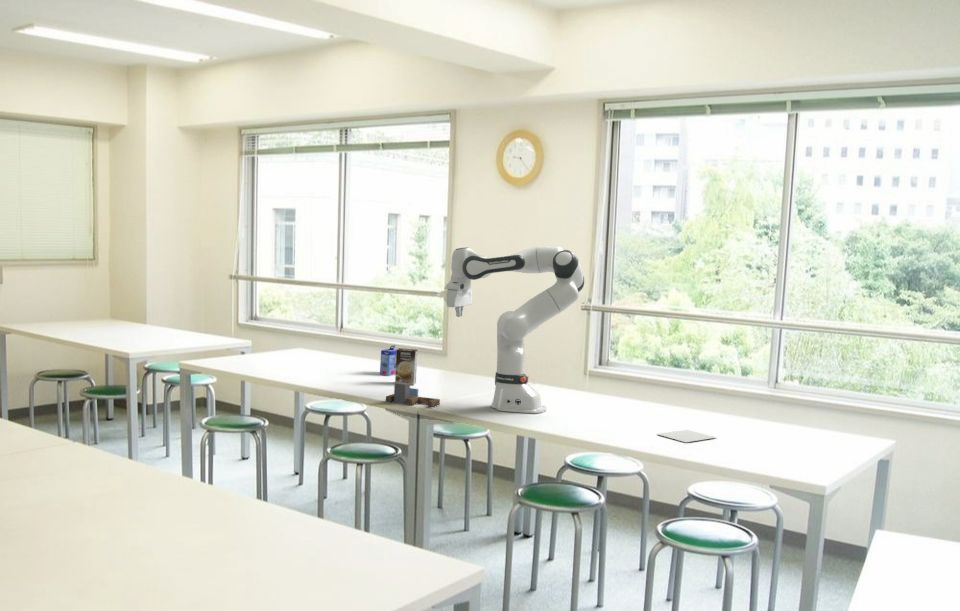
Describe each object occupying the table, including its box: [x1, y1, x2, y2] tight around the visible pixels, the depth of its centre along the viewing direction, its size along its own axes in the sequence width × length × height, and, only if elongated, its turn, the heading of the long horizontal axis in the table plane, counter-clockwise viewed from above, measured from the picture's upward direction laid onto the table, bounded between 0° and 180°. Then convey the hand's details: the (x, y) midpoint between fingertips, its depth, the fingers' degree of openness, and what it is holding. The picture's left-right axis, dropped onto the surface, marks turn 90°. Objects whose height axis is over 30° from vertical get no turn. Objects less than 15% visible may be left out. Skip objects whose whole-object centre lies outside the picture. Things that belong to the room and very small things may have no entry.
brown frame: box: [385, 387, 441, 408], centre depth 353 cm, size 21×10×5 cm, turn 68°
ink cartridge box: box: [379, 344, 398, 377], centre depth 424 cm, size 10×6×14 cm, turn 153°
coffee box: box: [394, 348, 418, 386], centre depth 398 cm, size 9×6×16 cm
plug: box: [393, 382, 411, 405], centre depth 354 cm, size 5×4×8 cm
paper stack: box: [657, 429, 718, 443], centre depth 306 cm, size 23×25×1 cm
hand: (459, 316), depth 375 cm, fingers closed
